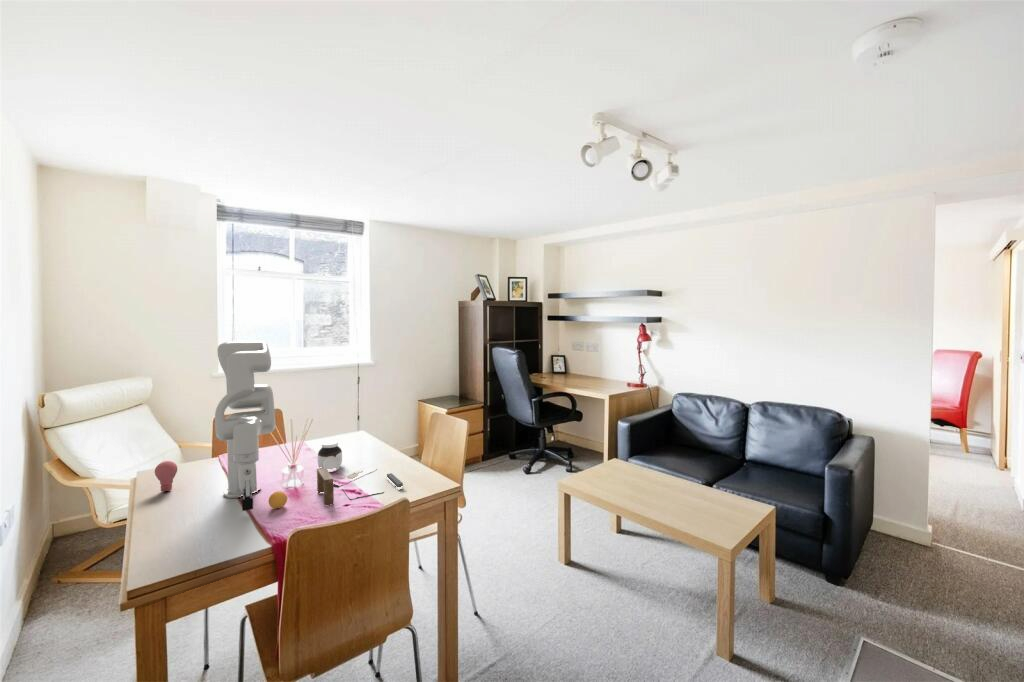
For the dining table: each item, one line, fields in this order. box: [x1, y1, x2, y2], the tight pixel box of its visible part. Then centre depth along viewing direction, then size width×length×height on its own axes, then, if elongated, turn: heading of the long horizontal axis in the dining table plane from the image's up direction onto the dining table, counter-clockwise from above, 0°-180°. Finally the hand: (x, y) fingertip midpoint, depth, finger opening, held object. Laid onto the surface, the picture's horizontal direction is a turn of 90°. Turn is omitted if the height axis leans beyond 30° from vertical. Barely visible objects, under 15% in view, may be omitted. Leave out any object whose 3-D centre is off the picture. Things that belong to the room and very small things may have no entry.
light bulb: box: [154, 460, 178, 493], centre depth 177 cm, size 7×7×12 cm
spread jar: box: [317, 440, 343, 470], centre depth 204 cm, size 12×11×12 cm
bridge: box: [316, 467, 335, 506], centre depth 171 cm, size 3×15×10 cm, turn 33°
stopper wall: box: [386, 473, 404, 487], centre depth 186 cm, size 14×2×2 cm, turn 33°
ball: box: [268, 490, 288, 509], centre depth 162 cm, size 6×6×6 cm
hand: (247, 509), depth 156 cm, fingers closed
